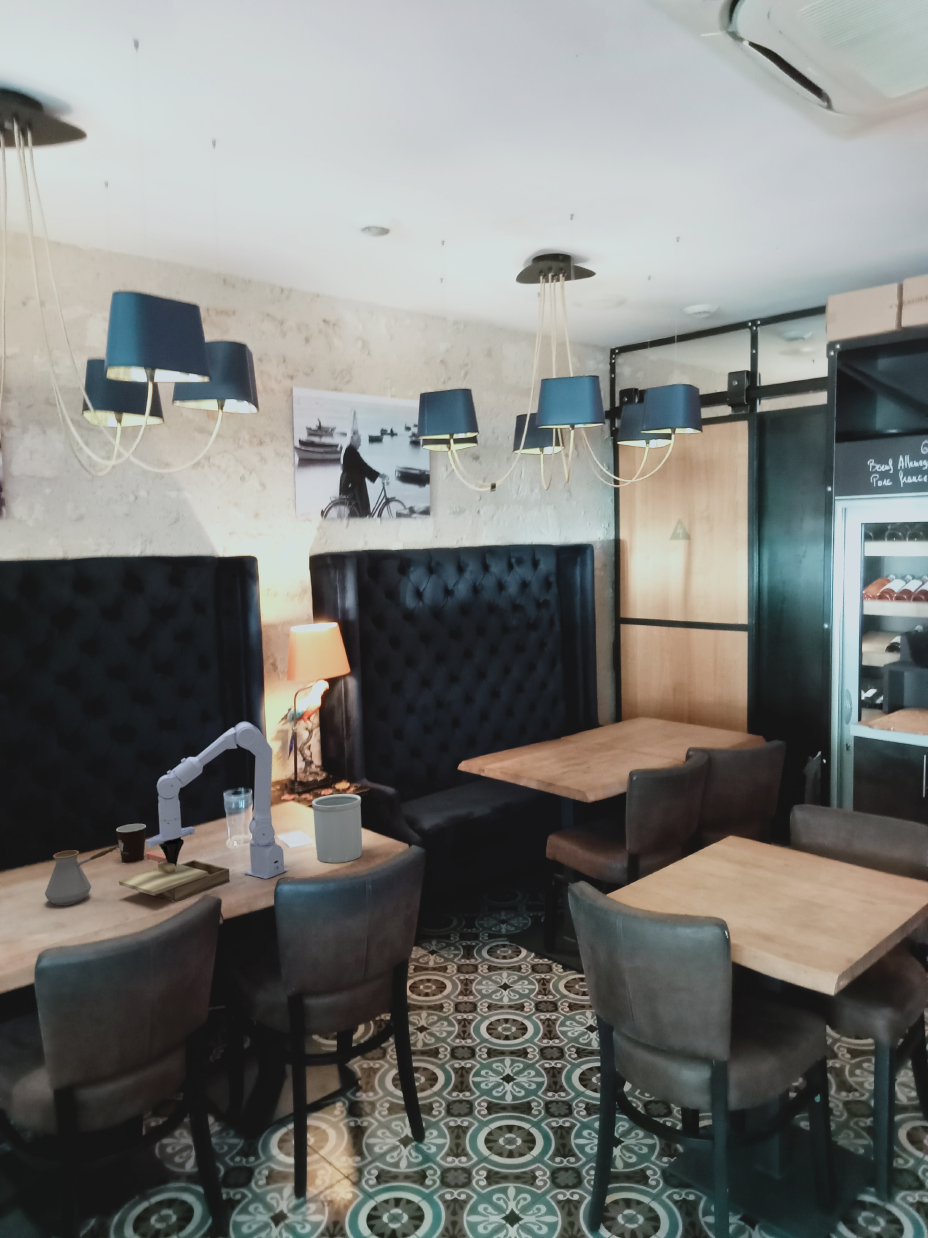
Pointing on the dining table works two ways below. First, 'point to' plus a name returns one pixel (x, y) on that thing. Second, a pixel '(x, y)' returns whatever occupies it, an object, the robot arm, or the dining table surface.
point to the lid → (163, 878)
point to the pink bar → (155, 856)
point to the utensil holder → (338, 827)
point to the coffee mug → (131, 842)
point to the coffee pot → (70, 878)
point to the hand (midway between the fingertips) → (172, 866)
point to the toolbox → (198, 881)
